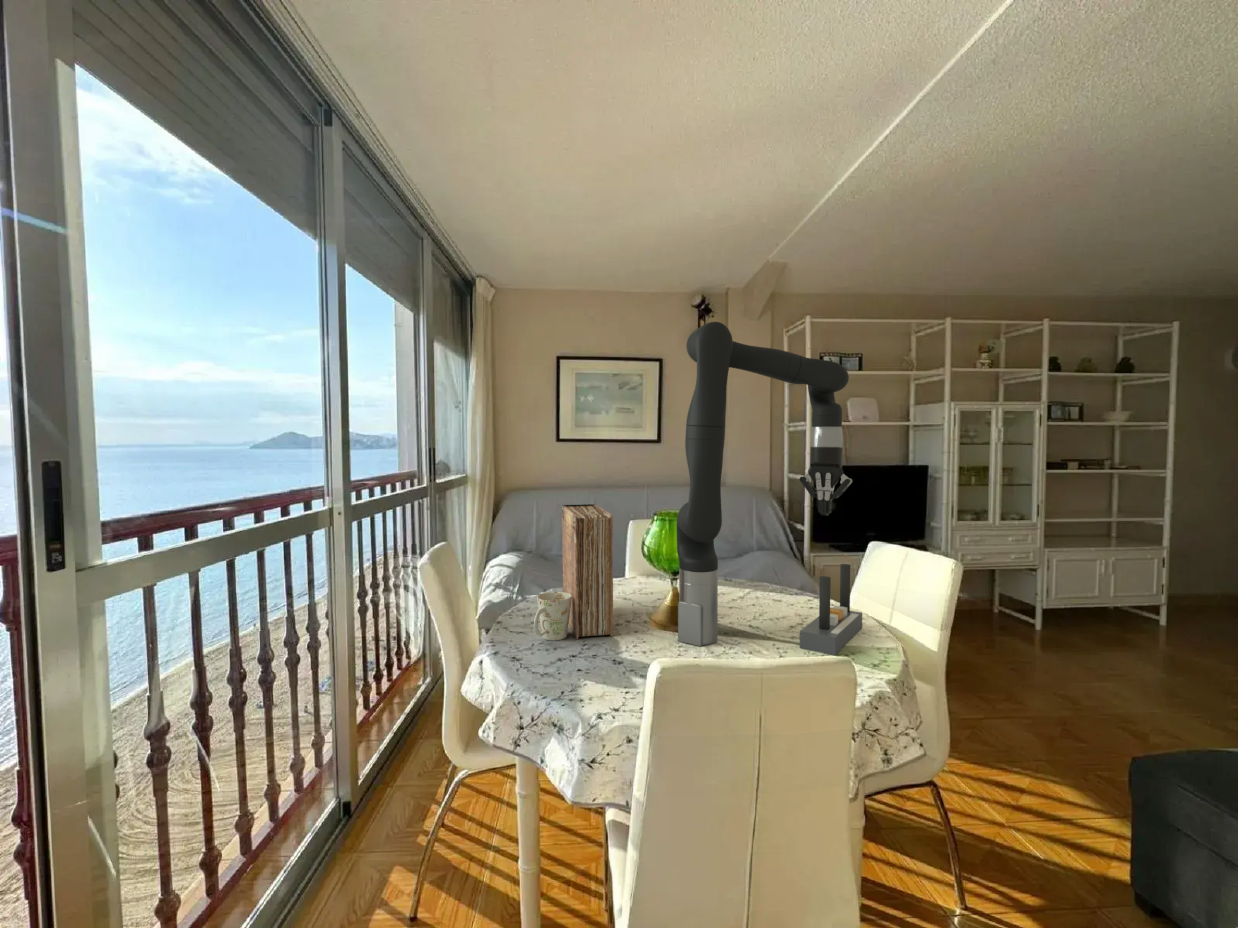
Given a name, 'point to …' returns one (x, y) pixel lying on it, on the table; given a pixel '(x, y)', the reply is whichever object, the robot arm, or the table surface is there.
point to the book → (588, 568)
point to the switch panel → (831, 632)
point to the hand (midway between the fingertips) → (824, 515)
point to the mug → (553, 615)
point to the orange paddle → (837, 613)
